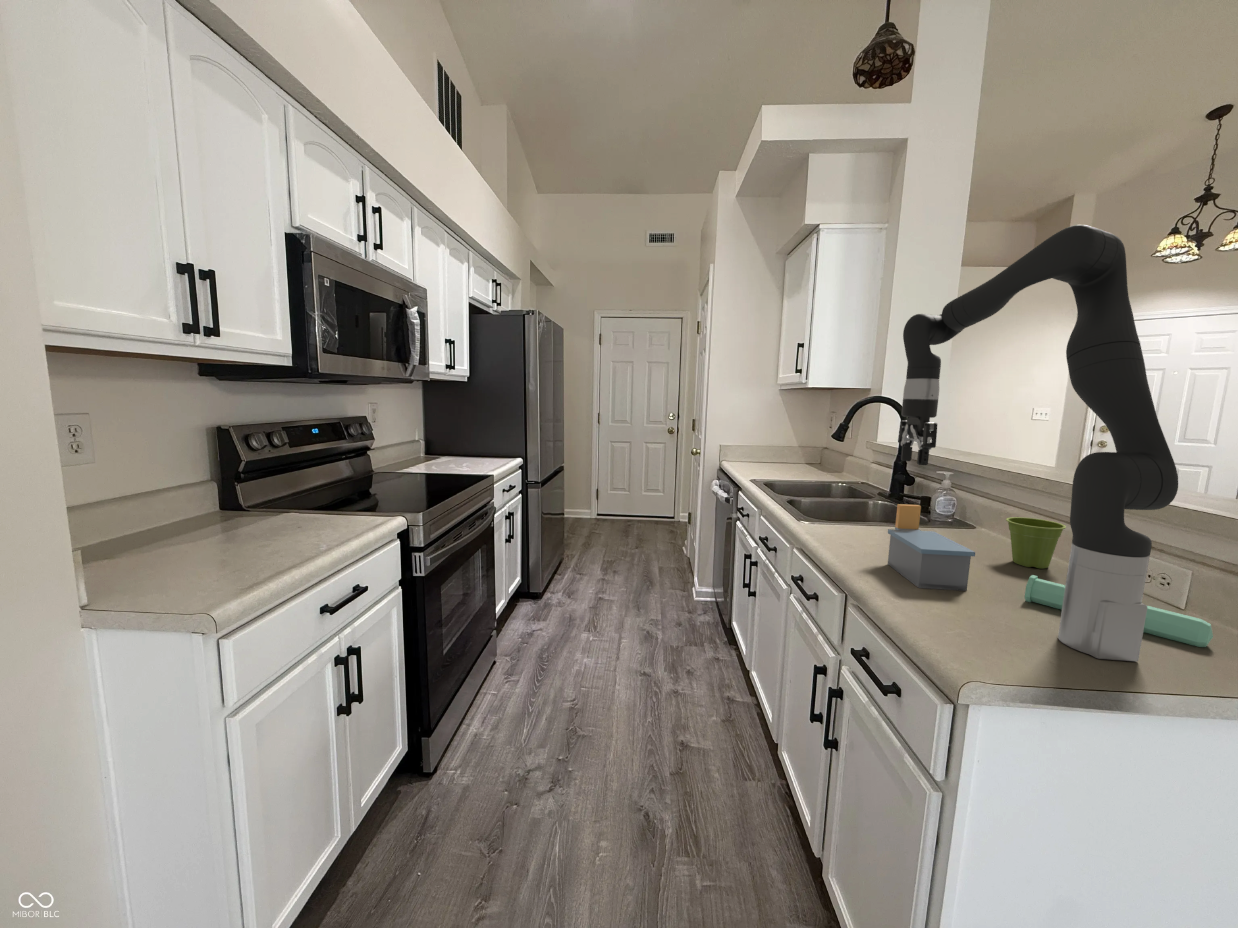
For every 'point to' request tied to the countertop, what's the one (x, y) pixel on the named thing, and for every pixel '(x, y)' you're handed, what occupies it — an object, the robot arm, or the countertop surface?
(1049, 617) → the countertop surface
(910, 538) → the lid
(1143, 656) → the countertop surface
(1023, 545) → the plant pot
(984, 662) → the countertop surface
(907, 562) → the storage box
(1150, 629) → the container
